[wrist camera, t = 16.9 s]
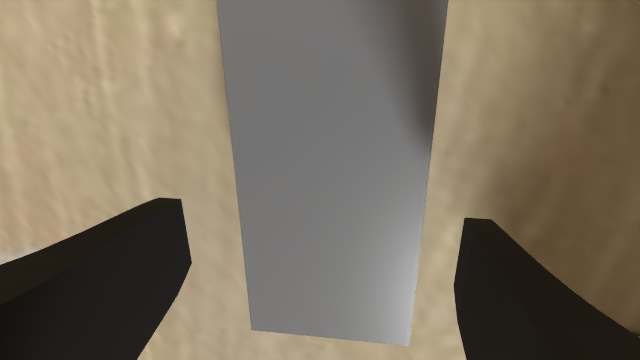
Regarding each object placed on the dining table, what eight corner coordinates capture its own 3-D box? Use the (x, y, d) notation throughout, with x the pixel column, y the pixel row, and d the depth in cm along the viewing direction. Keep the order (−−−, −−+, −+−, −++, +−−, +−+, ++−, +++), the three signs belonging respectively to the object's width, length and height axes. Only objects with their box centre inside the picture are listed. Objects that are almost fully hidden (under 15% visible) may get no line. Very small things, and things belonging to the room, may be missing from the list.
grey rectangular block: (430, -36, 16) (452, -35, 10) (404, 249, 21) (409, 346, 16) (270, -35, 16) (212, -33, 11) (285, 240, 22) (251, 329, 17)
